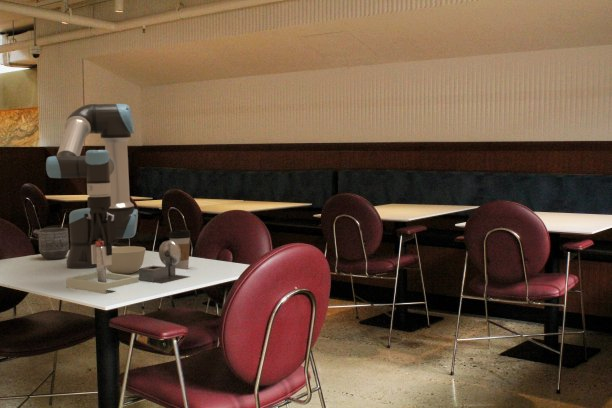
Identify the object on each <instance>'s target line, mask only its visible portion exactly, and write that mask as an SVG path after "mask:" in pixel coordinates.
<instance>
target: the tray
mask: <svg viewBox="0 0 612 408" xmlns="http://www.w3.org/2000/svg"><path fill="white" fill-rule="evenodd" d="M138 277H139V276H137V275H129V274H115V273H111V272H107V271H106V280H107V279H108V280H113V281H108V282H107V283H103V282H98V281H94V280H93V279H98V276H97V271H96V272H90V273H85V274H80V275H79V274H78V275H75V276H70V277H66V279H65V283H66V285H65V286H66V288H67V289H73V290H80V291H87V292H93V293H98V294H105V295H107V294H111V293H115V292H117V290H112V289H114V288H118V287H123V286H126V285H127V286H128V285H132V284H136V283H139V280H138Z"/></svg>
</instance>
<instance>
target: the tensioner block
mask: <svg viewBox="0 0 612 408" xmlns="http://www.w3.org/2000/svg"><path fill="white" fill-rule="evenodd" d="M158 258H159V259H160V261H161V263H162V264H163V266H162V265H161V266H160V265H149V266H144V267H140V268H139V269H138V276H137V277H138V280H139V281H140V282H147V283H152V284H153V283H155V284H161V285H162V284H167V283H171V282H175V281H179V280H184V279H188V278H190V276H187V275H180V274H176V268H175V265H176V264H178V263H179V261H180V259H181V250H180V247H179V245H178V244H177V243H176V242H175V241H173V240H170V239H169V240H165V241H163V242H162V243H161V244H160V245H159V249H158Z"/></svg>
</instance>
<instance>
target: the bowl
mask: <svg viewBox="0 0 612 408" xmlns="http://www.w3.org/2000/svg"><path fill="white" fill-rule="evenodd" d="M145 255H146V247H144V246H135V245H133V246H131V245H130V246H128V245H127V246H114V247H113V246H112V255H111V259H112V265H107V266H106V271H108V273H115V274H122V275H129V274H130V275H131V274H134V273H136V272H138V271H139V268H142V265H143V263H144V259H145Z"/></svg>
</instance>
